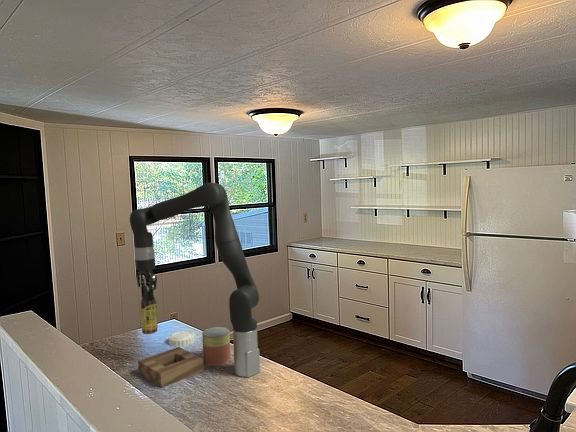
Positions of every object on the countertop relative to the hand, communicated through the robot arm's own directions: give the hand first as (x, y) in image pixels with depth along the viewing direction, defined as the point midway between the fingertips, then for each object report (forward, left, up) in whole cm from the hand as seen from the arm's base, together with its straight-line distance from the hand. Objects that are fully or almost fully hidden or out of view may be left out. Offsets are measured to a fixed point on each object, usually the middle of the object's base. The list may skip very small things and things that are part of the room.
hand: (147, 298), depth 175 cm
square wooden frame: (-15, -1, -27) cm, 31 cm away
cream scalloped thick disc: (+10, -21, -27) cm, 36 cm away
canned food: (-19, -20, -27) cm, 39 cm away
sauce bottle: (-1, 0, -14) cm, 14 cm away
